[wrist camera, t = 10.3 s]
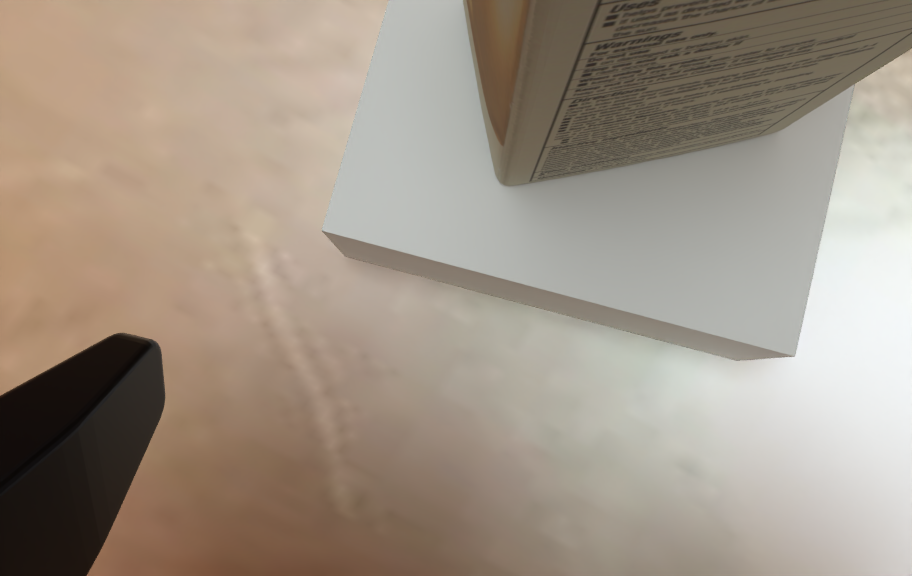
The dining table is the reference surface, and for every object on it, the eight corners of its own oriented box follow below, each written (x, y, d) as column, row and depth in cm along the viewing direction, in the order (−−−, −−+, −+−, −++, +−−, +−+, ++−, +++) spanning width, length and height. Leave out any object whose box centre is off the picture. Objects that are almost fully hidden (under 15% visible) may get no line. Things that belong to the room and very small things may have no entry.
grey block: (812, -4, 21) (893, -91, 17) (729, 361, 20) (795, 356, 16) (449, -95, 22) (447, -201, 18) (347, 259, 21) (321, 230, 17)
